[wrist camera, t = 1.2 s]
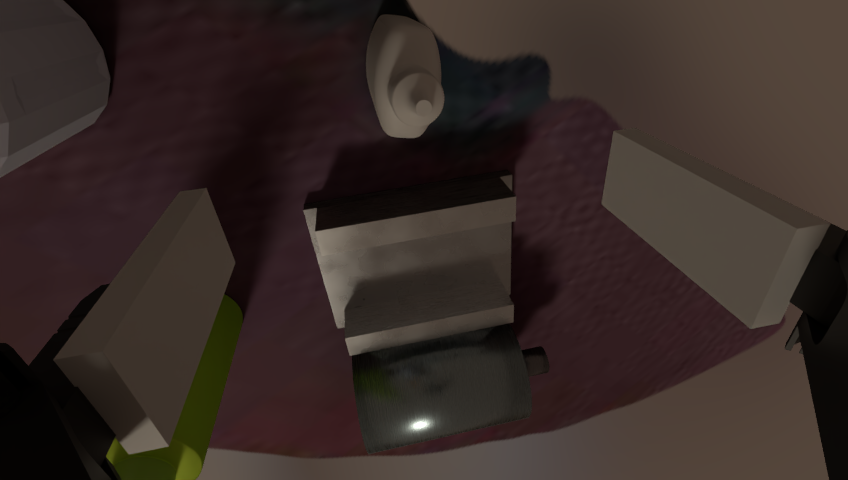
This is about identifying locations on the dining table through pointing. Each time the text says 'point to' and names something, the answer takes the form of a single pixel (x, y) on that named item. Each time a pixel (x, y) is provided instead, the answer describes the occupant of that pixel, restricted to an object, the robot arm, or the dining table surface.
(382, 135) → the dining table surface
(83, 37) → the soap bottle
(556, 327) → the dining table surface
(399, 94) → the eye dropper bottle
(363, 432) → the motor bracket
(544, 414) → the dining table surface
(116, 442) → the soap dispenser
